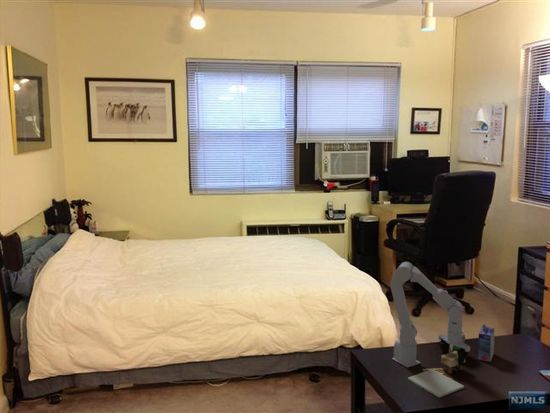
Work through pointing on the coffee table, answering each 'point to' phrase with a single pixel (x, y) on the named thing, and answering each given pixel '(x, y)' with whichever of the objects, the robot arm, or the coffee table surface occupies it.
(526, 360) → the coffee table surface
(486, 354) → the ink cartridge box
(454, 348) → the food container
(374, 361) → the coffee table surface
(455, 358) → the beige cardboard carton
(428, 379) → the blue-grey board
